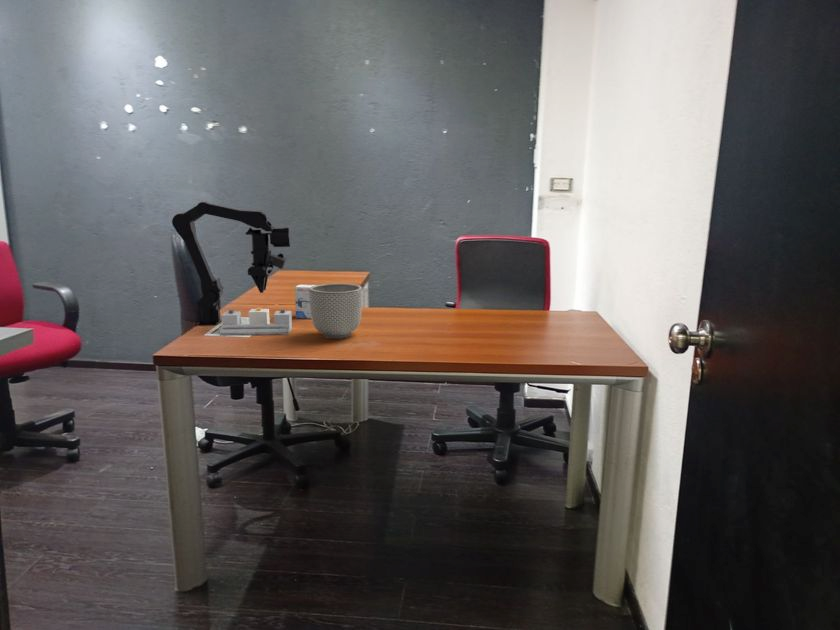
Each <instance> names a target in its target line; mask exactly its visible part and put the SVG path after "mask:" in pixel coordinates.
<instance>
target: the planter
mask: <svg viewBox="0 0 840 630" xmlns="http://www.w3.org/2000/svg"><path fill="white" fill-rule="evenodd" d="M314 285H315V286H312V287H310V288H309V301H310V310H311V316H312V318H311V321H312V324H313V326H314V328H315V329H316V330H317V331H318V332H320V333H322V336H323V337H324V338H326V339H329V340H330V339H332V340H340V339H346V338H349V337H350V336H351V335H352V333H353V332H354V331H356V330H357V328H358V327H359V326H360V323H361V318H362V311H363V310H362V308H363V295H364V293H363V287H362V286H361V285H359V284H355V283H343V282H341V283H339V282H338V283H335V282H334V283H322V284H314Z"/></svg>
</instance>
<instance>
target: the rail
mask: <svg viewBox="0 0 840 630" xmlns="http://www.w3.org/2000/svg"><path fill="white" fill-rule="evenodd" d="M290 333H291V331H290V327H289V323H287V324H274V323H270V324H249V323H241V324H222V323H221V328H220V329H219V334H220V336H257V335H258V336H262V335H263V336H268V335H269V336H271V335H275V336H276V335H279V336H280V335H282V336H283V335H290Z"/></svg>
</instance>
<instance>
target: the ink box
mask: <svg viewBox="0 0 840 630" xmlns="http://www.w3.org/2000/svg"><path fill="white" fill-rule="evenodd" d="M315 285H316V284H298V285H296V286H295V287H294V290H295V291H294V293H295V294H294V295H295V299H294V300H295V303H294V304H295V306H294V307H295V318H296V319H312V316H311V310H310V301H309V288H310V287H312V286H315Z"/></svg>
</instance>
